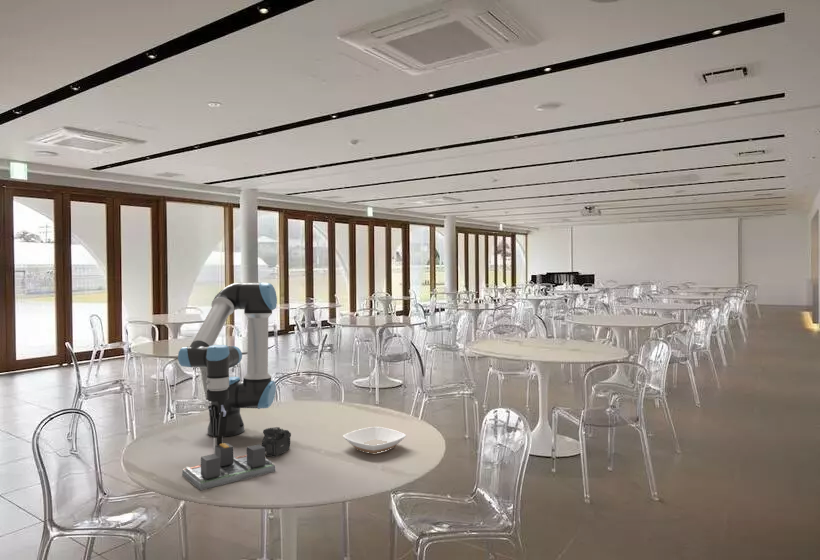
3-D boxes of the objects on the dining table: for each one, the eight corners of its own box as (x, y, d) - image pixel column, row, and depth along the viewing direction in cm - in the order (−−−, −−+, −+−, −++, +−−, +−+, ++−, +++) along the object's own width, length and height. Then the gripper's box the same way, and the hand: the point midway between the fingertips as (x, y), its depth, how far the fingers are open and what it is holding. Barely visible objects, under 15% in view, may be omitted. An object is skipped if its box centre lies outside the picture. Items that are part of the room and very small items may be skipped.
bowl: (335, 448, 218) (335, 435, 218) (375, 436, 234) (375, 424, 234) (373, 461, 204) (373, 447, 203) (413, 448, 219) (413, 435, 219)
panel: (182, 475, 190) (182, 466, 190) (254, 458, 206) (254, 450, 206) (200, 490, 177) (200, 480, 177) (275, 471, 193) (275, 462, 193)
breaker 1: (200, 474, 184) (200, 456, 184) (214, 471, 187) (214, 453, 187) (206, 479, 180) (206, 460, 180) (220, 475, 183) (220, 457, 183)
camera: (266, 447, 220) (266, 422, 220) (291, 447, 221) (291, 422, 220) (259, 458, 207) (258, 432, 207) (285, 458, 207) (285, 431, 207)
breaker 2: (215, 462, 195) (215, 444, 195) (227, 459, 198) (227, 442, 198) (220, 466, 192) (220, 448, 191) (233, 463, 194) (233, 445, 194)
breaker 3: (246, 463, 194) (246, 446, 194) (258, 461, 197) (258, 444, 197) (253, 467, 190) (253, 450, 190) (265, 464, 193) (265, 447, 193)
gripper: (200, 387, 201) (201, 452, 201) (214, 393, 191) (214, 461, 191) (221, 384, 206) (221, 447, 206) (235, 390, 196) (235, 456, 196)
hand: (218, 454), depth 199 cm, fingers closed
